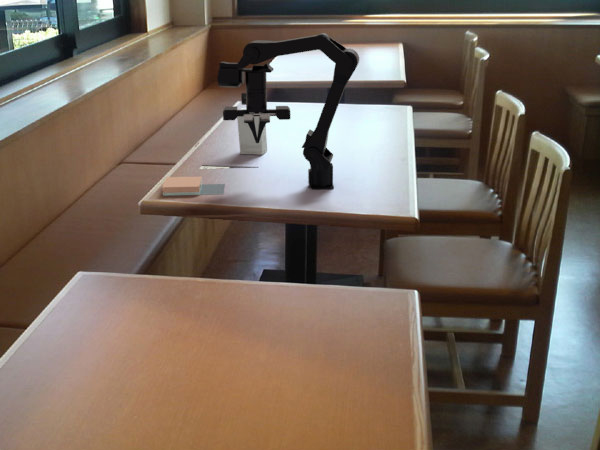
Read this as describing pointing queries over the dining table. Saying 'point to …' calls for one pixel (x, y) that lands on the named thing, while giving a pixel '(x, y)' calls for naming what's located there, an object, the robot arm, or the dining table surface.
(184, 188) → the tile
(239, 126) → the skincare box
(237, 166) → the chocolate bar
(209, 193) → the mat
